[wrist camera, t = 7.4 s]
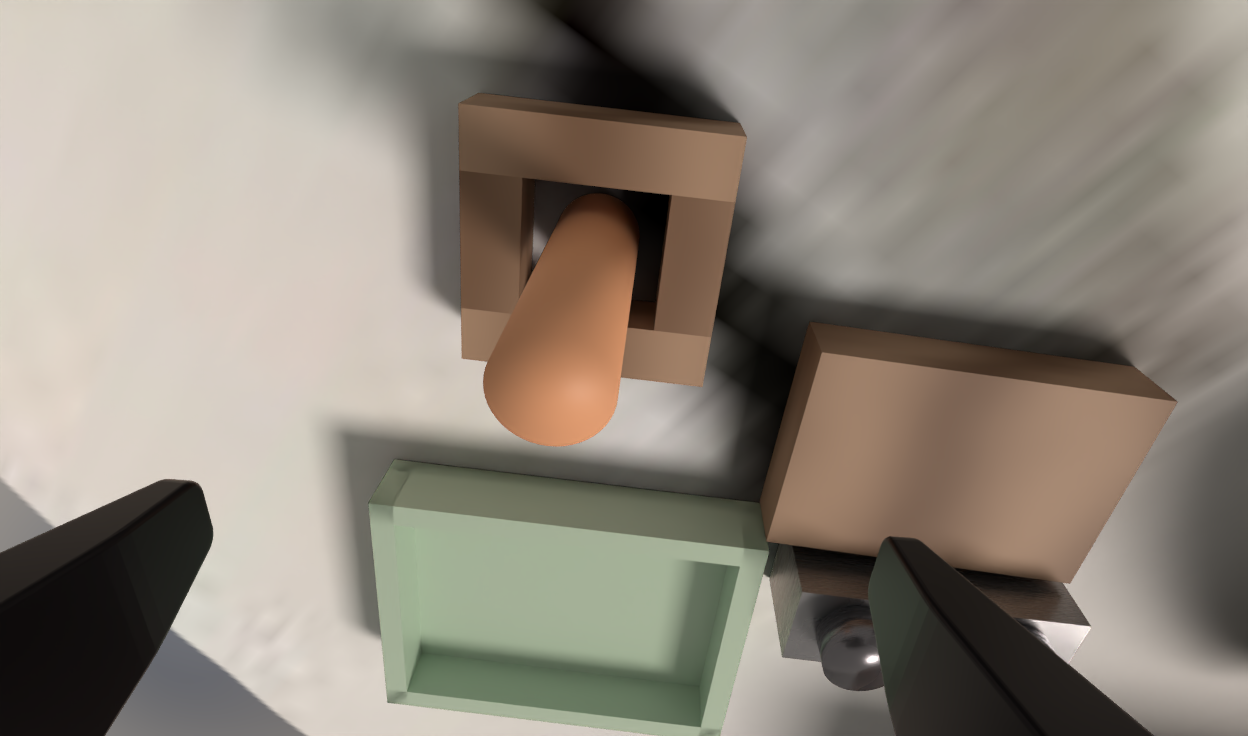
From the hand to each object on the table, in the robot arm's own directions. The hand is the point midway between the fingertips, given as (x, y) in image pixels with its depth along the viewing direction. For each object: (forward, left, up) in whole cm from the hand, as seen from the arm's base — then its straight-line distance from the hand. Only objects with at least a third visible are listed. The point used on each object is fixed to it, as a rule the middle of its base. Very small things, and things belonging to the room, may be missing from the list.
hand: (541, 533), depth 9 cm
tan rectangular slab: (-11, +5, -13) cm, 18 cm away
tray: (0, +14, -13) cm, 19 cm away
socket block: (0, 0, -13) cm, 13 cm away
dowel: (0, 0, -13) cm, 13 cm away
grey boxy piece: (-12, +11, -13) cm, 20 cm away
